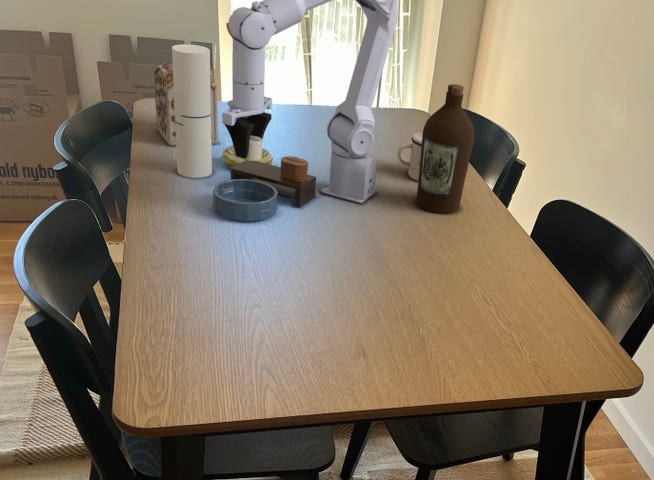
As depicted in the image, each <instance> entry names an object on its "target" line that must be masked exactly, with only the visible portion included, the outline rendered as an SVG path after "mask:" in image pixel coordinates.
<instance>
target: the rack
mask: <svg viewBox="0 0 654 480" xmlns="http://www.w3.org/2000/svg"><path fill="white" fill-rule="evenodd" d="M280 171H281V166H277V165H273V164H272V165H270V164H266V163H262V162H258V161H248V160H245V161H243V162H242V163H240V164H238V165H236V166H234V167H232V168H230V180H234V179H247V180H256V181H260V182H264V183H267V184H269V185H271V186H273V187H274V188H275V189H276V190H277V192H278V198H283V199H286V200H291V201H294V207H295V208H299V209H300V208H301V207H303V206H305V205H306V204H307V203H309V202H311V200H313V199H314V198H316V189H317V176H315V175H311V174H308V173H307V180H306V181H304V182H293V181H290V180H285V179H283V178H281V177H280Z"/></svg>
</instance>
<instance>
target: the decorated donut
mask: <svg viewBox="0 0 654 480" xmlns="http://www.w3.org/2000/svg"><path fill="white" fill-rule="evenodd" d="M222 159H223V161H224V163H225V165H226V166H227V167H228V168H230V169H231V168H232V167H234V166H236V165H238V164H240V163H242V162H243V161H245V160H244V159H241V158H237V157H235V156H234V155H233V144H232V145H230V146H228V147H225V148H224V149H223V150H222ZM273 160H274V157H273V155H272V154H271V152H270V151H269V150H268V149H266V148H264V147H262V158H261V159H260V160H257V161H258V162H262V163H266V164H270V165H273Z"/></svg>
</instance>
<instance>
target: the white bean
mask: <svg viewBox="0 0 654 480" xmlns="http://www.w3.org/2000/svg"><path fill="white" fill-rule="evenodd" d="M262 148H263V139H261V138H260V137H257V136H252V135H251V137H250V141H249V151H248V156H247V158H245V159H244V158H241V157H237V156H236V154H235V150H234V146H233V155H234V156H235V157H237V158H241V159H244V160H248V161H257V160H260V159H261V158H262Z"/></svg>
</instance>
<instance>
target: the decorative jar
mask: <svg viewBox="0 0 654 480" xmlns="http://www.w3.org/2000/svg"><path fill="white" fill-rule="evenodd" d="M153 80H154V81H153V82H154V102H155V117H156V119H155V120H156V128H157V131H158V132H159V134H160V135H161V137H162V138H163V139H164V140H165V141H166V143H167V145H168V146H170V147H176V128H175V106H174V83H173V61H166V62H164V63H160V64H159V65H157V67H156V68H155V71H154V73H153ZM210 95H211V145H217V144H218V143H219V124H218V123H219V113H218V85H217V83H216V79H215V78H214V75H213V72H212V70H211V69H210Z"/></svg>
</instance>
